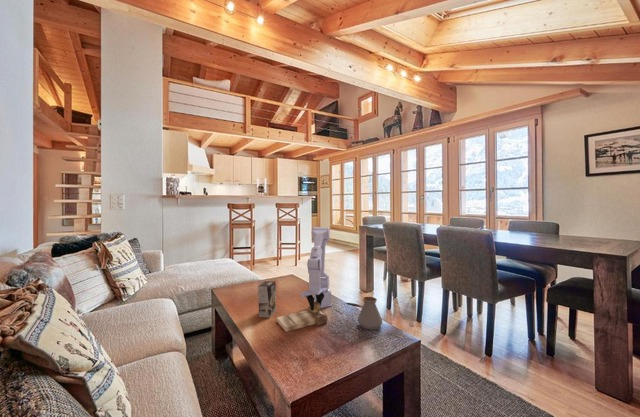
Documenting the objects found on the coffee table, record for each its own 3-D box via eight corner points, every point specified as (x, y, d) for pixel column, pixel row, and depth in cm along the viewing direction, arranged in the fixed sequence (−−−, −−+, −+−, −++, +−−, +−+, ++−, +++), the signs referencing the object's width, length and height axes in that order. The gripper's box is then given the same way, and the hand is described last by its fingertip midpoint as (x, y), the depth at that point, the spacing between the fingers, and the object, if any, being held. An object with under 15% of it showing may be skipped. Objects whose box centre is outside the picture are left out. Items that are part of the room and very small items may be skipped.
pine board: (316, 311, 143) (316, 307, 143) (327, 320, 132) (327, 316, 132) (276, 321, 132) (276, 317, 132) (286, 331, 122) (286, 327, 122)
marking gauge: (314, 312, 141) (313, 298, 141) (327, 322, 130) (326, 306, 129) (305, 314, 139) (305, 299, 138) (318, 325, 127) (317, 309, 127)
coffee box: (270, 318, 136) (269, 286, 136) (258, 317, 137) (257, 285, 137) (276, 310, 145) (276, 281, 144) (265, 309, 146) (264, 280, 146)
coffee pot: (368, 318, 134) (368, 288, 134) (387, 326, 125) (387, 295, 125) (336, 332, 121) (336, 299, 120) (355, 342, 112) (355, 307, 111)
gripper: (305, 286, 127) (305, 315, 127) (331, 281, 134) (331, 308, 135) (298, 282, 133) (299, 309, 134) (324, 278, 140) (324, 303, 141)
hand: (315, 308), depth 135 cm, fingers closed on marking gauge, 3 cm apart
